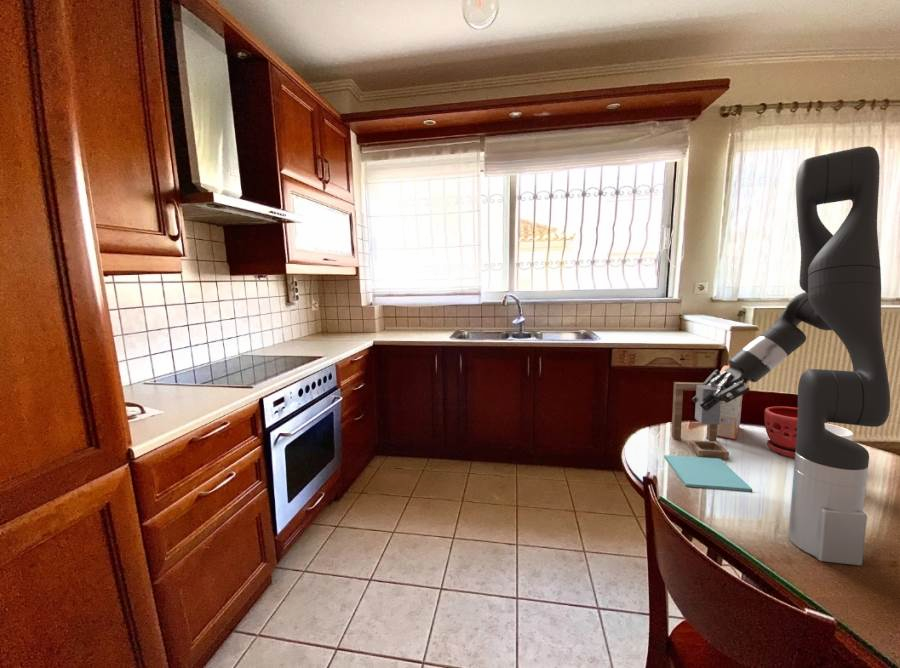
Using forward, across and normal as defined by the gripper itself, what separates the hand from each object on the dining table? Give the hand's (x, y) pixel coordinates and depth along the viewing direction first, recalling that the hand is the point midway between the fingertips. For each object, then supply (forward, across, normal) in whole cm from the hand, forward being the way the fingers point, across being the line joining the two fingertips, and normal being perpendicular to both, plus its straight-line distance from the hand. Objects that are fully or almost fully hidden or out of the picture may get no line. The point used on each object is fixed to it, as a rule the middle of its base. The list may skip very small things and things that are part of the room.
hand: (699, 405), depth 96 cm
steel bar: (+2, 0, +4) cm, 5 cm away
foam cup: (-7, -1, +33) cm, 33 cm away
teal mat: (+11, 0, +14) cm, 18 cm away
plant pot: (-9, -17, +35) cm, 40 cm away
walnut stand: (+7, -17, +18) cm, 26 cm away
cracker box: (-2, -31, +28) cm, 42 cm away
